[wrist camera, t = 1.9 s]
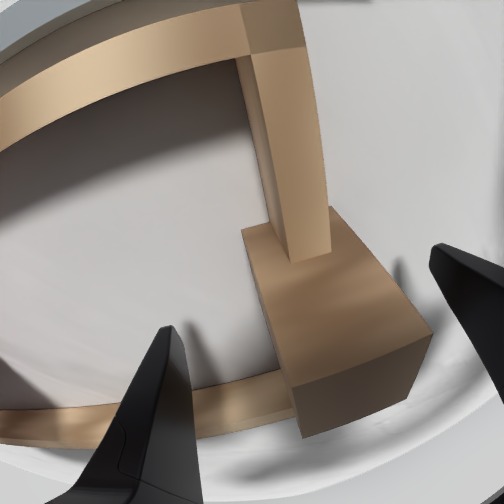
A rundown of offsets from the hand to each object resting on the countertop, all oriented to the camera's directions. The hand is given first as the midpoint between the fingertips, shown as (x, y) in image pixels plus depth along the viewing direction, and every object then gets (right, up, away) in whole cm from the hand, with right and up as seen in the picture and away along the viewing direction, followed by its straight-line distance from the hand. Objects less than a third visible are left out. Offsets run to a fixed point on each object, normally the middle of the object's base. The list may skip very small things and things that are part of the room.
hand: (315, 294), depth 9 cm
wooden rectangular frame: (-13, -2, +1) cm, 13 cm away
